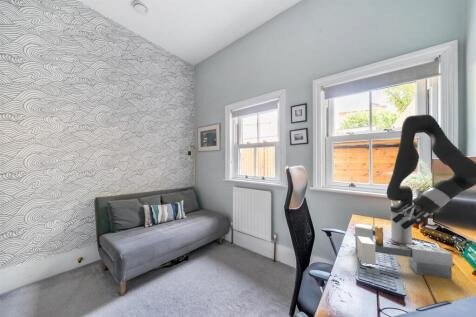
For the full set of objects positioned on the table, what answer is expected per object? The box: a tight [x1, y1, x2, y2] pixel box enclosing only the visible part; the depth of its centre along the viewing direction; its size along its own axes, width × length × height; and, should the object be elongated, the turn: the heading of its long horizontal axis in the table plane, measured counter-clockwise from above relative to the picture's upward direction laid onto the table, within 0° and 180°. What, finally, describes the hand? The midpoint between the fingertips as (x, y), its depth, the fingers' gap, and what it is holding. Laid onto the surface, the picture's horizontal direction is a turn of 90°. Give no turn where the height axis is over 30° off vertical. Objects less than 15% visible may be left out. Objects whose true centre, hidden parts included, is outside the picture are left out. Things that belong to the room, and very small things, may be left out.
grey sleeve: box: [405, 244, 454, 280], centre depth 77 cm, size 6×13×10 cm, turn 70°
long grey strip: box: [373, 225, 412, 258], centre depth 82 cm, size 3×20×11 cm, turn 70°
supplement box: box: [354, 223, 374, 251], centre depth 98 cm, size 7×7×13 cm
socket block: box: [357, 236, 377, 266], centre depth 85 cm, size 8×5×10 cm, turn 160°
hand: (397, 224), depth 81 cm, fingers open, 8 cm apart
